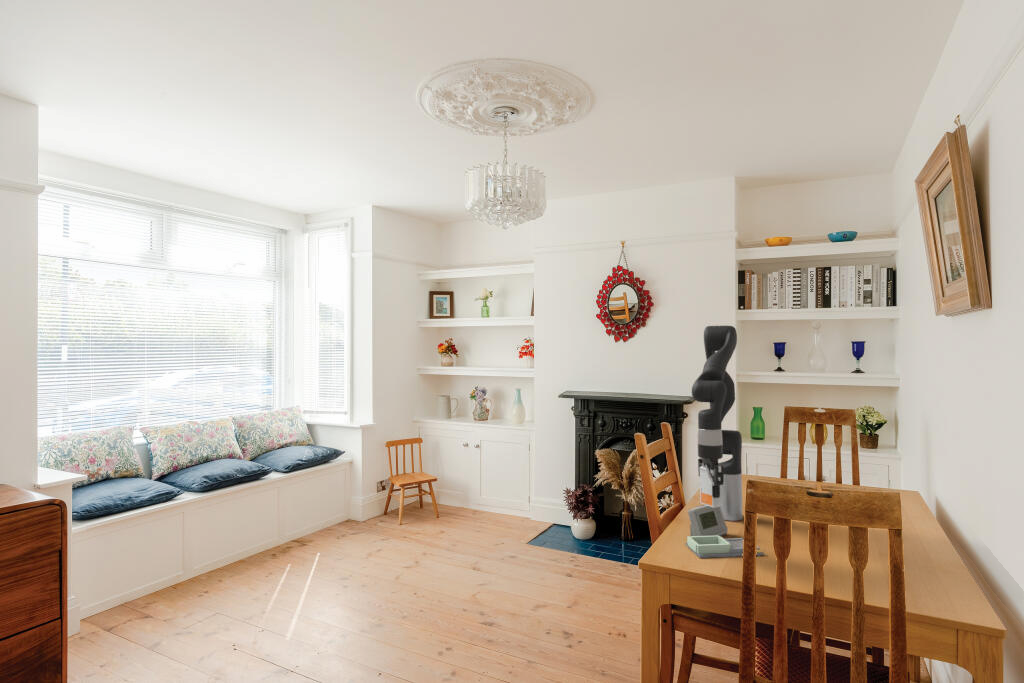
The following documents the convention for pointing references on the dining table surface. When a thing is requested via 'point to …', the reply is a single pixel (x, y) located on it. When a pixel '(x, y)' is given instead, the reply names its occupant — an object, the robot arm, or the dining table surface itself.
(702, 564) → the dining table surface
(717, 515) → the digital clock
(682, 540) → the dining table surface
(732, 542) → the cradle plate
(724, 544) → the grey green docking tray
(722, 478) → the robot arm
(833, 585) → the dining table surface
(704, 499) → the skincare box
